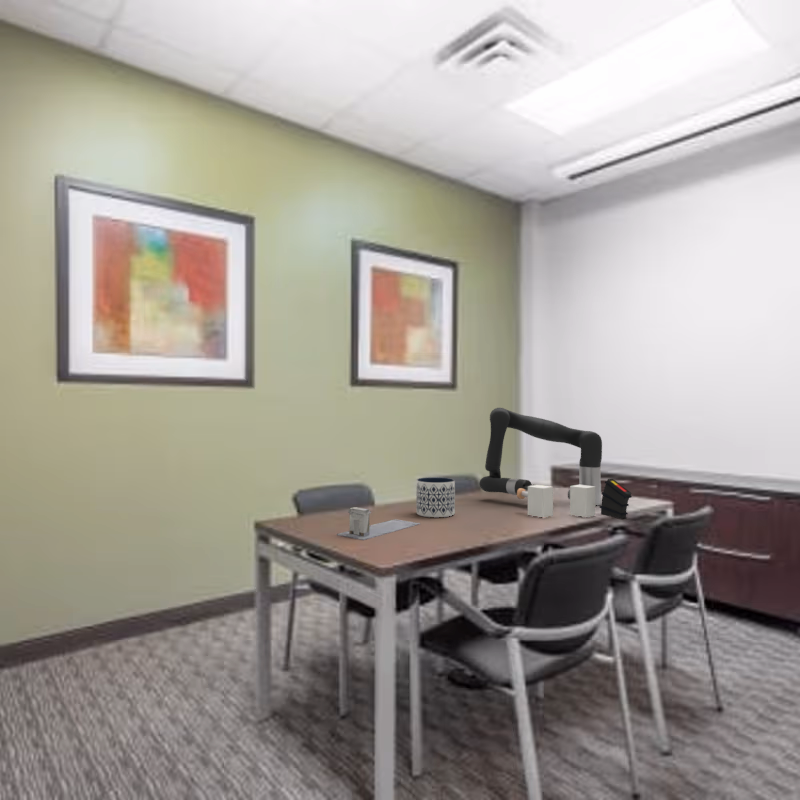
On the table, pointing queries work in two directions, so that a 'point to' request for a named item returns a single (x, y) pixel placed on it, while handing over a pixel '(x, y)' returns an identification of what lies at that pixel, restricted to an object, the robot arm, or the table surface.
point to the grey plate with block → (364, 531)
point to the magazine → (614, 499)
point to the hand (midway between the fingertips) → (552, 491)
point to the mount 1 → (540, 500)
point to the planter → (435, 497)
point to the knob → (522, 493)
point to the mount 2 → (582, 500)
